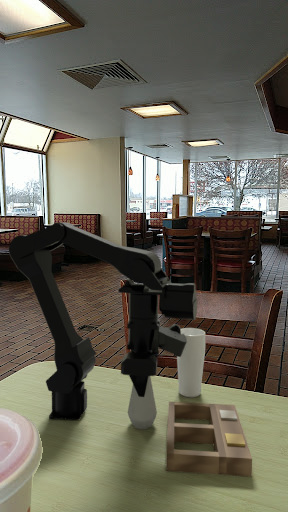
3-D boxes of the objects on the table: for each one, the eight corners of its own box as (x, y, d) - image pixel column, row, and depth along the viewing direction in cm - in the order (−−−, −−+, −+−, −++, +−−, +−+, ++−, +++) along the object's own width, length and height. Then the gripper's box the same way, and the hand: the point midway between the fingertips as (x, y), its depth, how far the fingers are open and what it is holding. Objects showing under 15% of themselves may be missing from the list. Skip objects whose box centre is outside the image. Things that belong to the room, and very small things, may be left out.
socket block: (166, 470, 61) (166, 451, 61) (168, 415, 79) (168, 399, 79) (251, 476, 60) (252, 456, 60) (234, 418, 78) (234, 403, 78)
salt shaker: (153, 433, 72) (154, 367, 71) (124, 430, 73) (125, 365, 72) (158, 418, 78) (159, 357, 77) (131, 415, 79) (132, 354, 78)
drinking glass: (185, 402, 85) (187, 337, 84) (170, 390, 91) (171, 329, 90) (209, 396, 88) (211, 333, 87) (193, 385, 94) (194, 326, 93)
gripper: (185, 330, 64) (184, 418, 65) (183, 306, 82) (182, 375, 84) (120, 328, 65) (120, 415, 66) (133, 305, 83) (132, 373, 85)
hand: (142, 392), depth 75 cm, fingers closed on salt shaker, 3 cm apart
